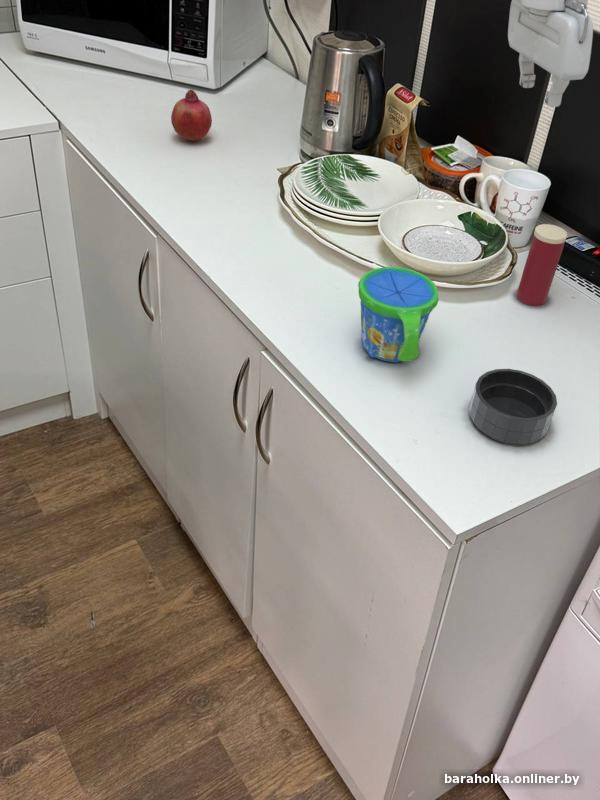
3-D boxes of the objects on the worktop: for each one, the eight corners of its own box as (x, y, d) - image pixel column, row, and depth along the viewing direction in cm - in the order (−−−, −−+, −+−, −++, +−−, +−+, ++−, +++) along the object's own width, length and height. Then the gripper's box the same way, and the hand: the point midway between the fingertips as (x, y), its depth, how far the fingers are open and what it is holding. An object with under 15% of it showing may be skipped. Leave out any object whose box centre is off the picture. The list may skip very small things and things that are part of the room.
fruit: (212, 133, 166) (213, 84, 160) (210, 149, 160) (210, 98, 154) (173, 131, 166) (172, 81, 159) (170, 146, 160) (168, 96, 153)
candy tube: (526, 286, 128) (546, 220, 121) (551, 299, 126) (573, 232, 119) (510, 296, 126) (529, 230, 118) (536, 309, 123) (557, 242, 116)
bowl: (496, 385, 108) (504, 359, 105) (561, 423, 103) (571, 396, 100) (452, 417, 102) (460, 390, 99) (519, 459, 97) (528, 431, 94)
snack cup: (436, 383, 107) (451, 321, 101) (358, 383, 106) (368, 320, 100) (414, 317, 119) (425, 257, 113) (343, 316, 118) (351, 255, 112)
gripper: (613, 5, 101) (591, 116, 109) (547, -23, 117) (532, 76, 126) (566, 7, 100) (547, 119, 109) (506, -21, 117) (493, 78, 125)
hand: (538, 95), depth 117 cm, fingers open, 8 cm apart
